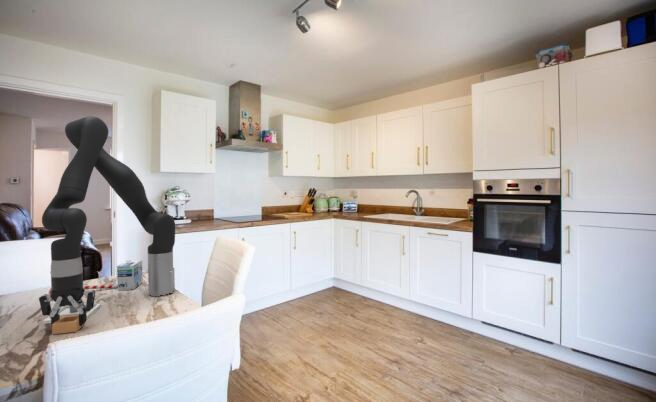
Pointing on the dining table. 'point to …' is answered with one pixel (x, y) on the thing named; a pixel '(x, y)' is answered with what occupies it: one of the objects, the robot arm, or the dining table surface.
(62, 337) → the dining table surface
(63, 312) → the post base
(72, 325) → the ring
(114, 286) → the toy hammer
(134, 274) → the light bulb box
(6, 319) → the dining table surface
